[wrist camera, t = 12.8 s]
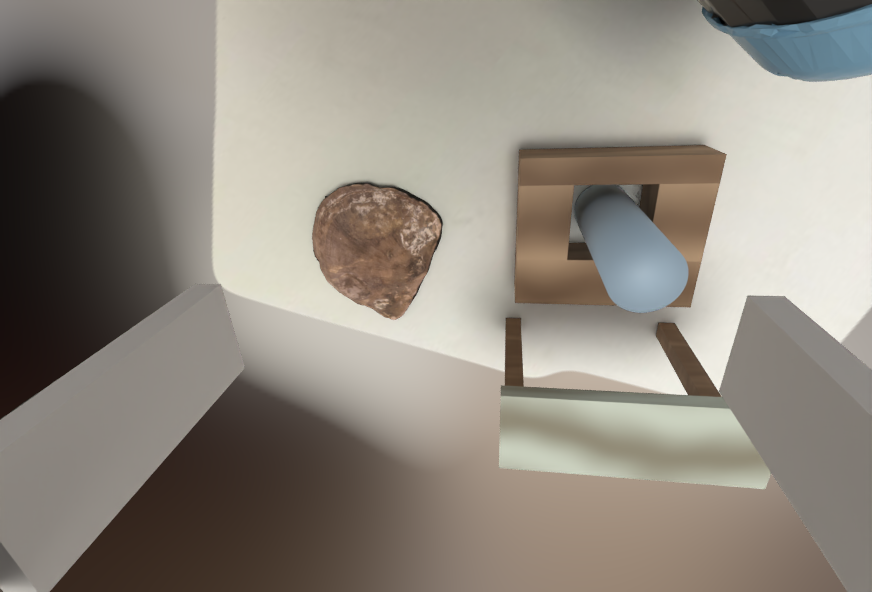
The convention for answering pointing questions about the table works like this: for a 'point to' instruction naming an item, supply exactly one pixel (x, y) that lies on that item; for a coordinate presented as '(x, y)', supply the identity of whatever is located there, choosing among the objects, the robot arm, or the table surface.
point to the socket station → (581, 284)
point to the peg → (629, 250)
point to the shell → (376, 245)
